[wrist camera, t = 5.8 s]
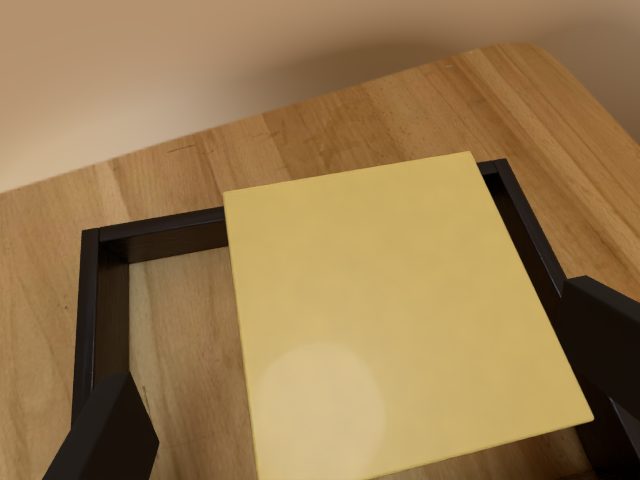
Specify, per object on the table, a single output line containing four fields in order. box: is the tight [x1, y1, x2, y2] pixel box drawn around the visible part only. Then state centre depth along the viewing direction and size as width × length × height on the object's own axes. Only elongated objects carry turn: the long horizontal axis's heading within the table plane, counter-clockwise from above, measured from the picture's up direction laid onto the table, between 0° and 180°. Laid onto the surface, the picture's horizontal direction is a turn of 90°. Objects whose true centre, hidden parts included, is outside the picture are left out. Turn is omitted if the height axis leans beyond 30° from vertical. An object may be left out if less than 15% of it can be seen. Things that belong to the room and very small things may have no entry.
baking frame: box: [71, 158, 640, 480], centre depth 16 cm, size 22×16×3 cm
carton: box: [223, 151, 594, 480], centre depth 12 cm, size 6×6×12 cm
